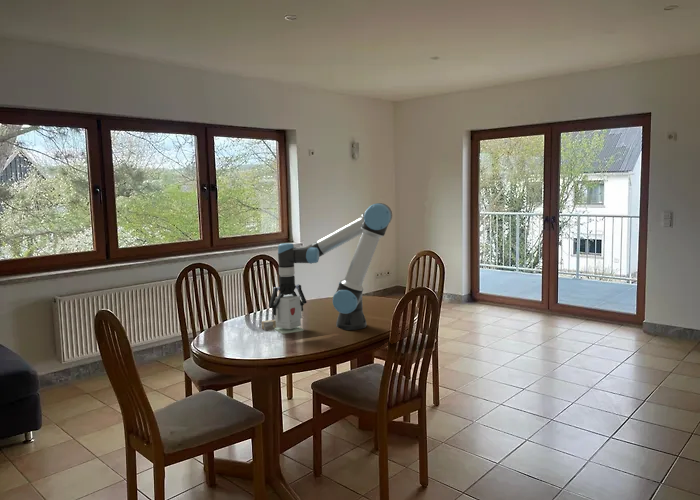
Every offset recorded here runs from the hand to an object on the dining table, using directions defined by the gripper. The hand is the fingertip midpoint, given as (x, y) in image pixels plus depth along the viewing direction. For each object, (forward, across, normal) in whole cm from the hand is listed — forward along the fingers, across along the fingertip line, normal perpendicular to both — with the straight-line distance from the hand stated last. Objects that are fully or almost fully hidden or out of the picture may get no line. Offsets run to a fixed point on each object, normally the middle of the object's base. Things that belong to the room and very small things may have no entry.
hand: (288, 319), depth 263 cm
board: (+6, +4, -8) cm, 11 cm away
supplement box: (+4, 0, 0) cm, 4 cm away
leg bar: (+5, +3, -9) cm, 11 cm away
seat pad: (+5, 0, 0) cm, 5 cm away
